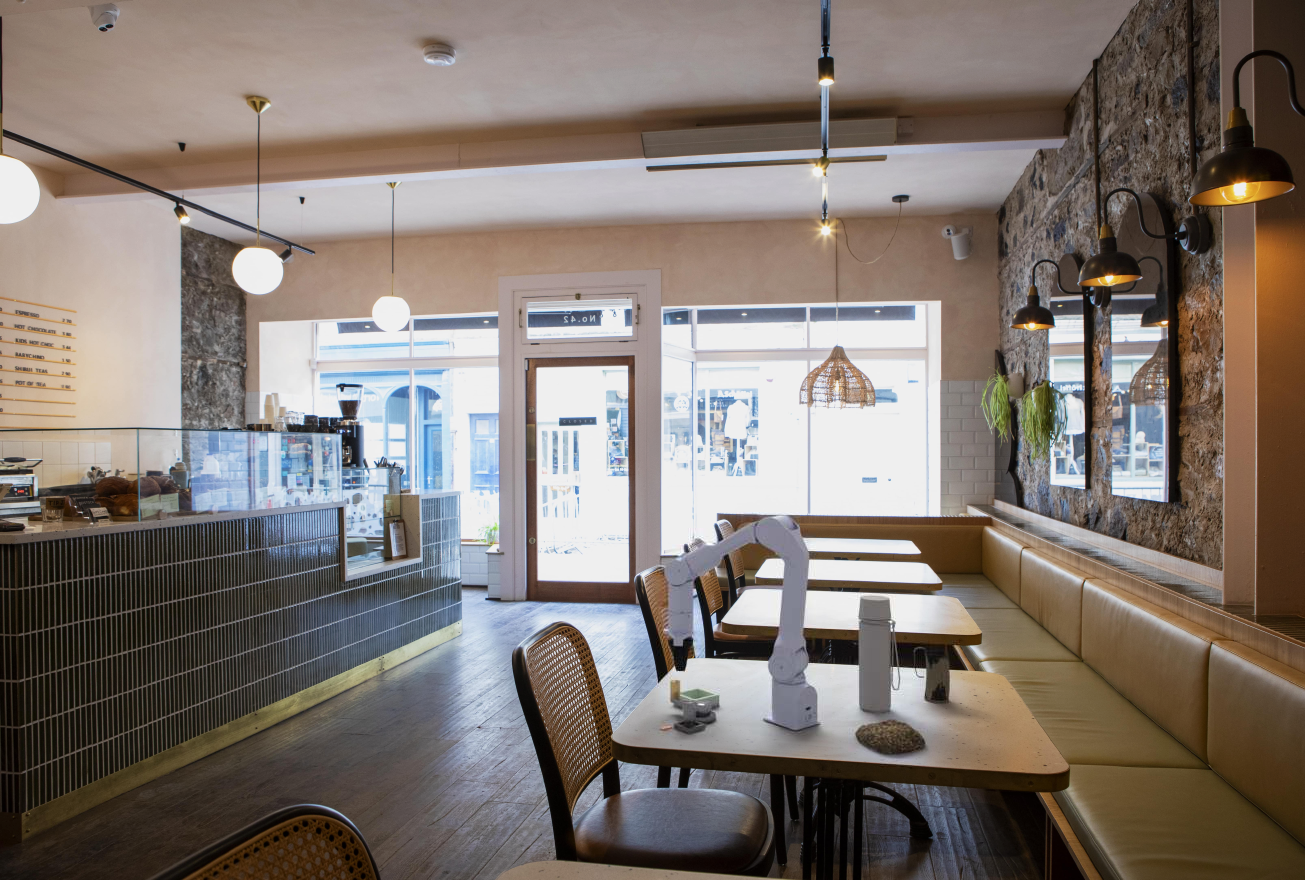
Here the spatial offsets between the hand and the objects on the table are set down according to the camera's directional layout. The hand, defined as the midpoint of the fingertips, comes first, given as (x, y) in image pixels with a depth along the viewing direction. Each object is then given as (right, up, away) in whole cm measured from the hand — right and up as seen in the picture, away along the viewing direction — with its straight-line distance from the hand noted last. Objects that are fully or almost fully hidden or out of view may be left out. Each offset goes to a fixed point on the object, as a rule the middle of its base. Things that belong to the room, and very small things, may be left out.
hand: (680, 670), depth 194 cm
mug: (+59, -8, +4) cm, 60 cm away
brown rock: (+41, -8, -25) cm, 49 cm away
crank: (+2, -6, -9) cm, 11 cm away
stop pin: (+1, -8, -17) cm, 19 cm away
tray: (+4, -8, 0) cm, 8 cm away
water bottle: (+45, -8, -4) cm, 45 cm away
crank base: (+2, -8, -14) cm, 16 cm away
